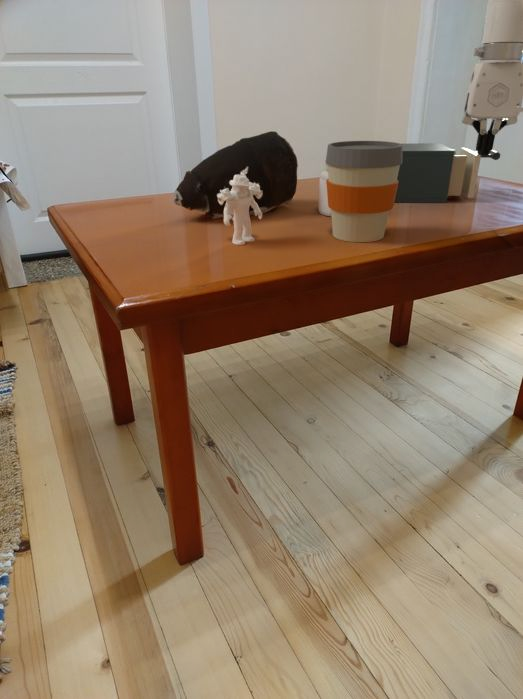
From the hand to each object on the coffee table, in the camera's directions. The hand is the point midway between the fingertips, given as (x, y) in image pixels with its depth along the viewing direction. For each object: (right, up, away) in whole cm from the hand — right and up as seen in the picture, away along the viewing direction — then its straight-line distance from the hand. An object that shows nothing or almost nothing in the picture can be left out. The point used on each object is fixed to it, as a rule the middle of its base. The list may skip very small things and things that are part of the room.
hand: (483, 154), depth 108 cm
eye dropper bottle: (-33, -14, -3) cm, 36 cm away
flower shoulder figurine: (-50, -23, -20) cm, 59 cm away
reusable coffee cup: (-30, -21, -17) cm, 41 cm away
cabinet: (-13, -6, +11) cm, 18 cm away
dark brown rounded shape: (-53, -13, -1) cm, 55 cm away
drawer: (-5, -5, +10) cm, 12 cm away
